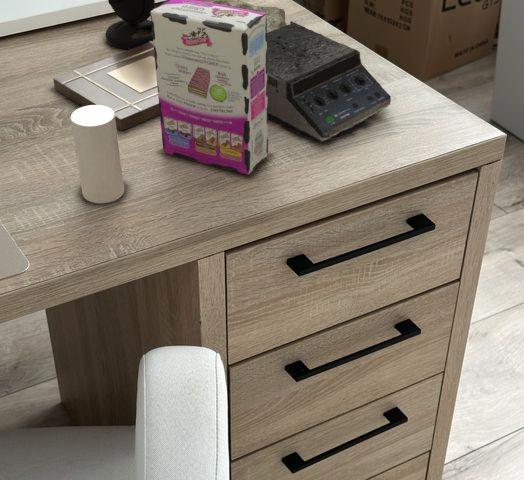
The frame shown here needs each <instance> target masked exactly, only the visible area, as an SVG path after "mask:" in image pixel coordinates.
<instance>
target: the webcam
mask: <svg viewBox="0 0 524 480" xmlns="http://www.w3.org/2000/svg"><path fill="white" fill-rule="evenodd" d="M107 2H108V5H110V7H111V8H112V10H113V12H114V13H115V14H116V15H117V16H118V17H119V18H120V19H122V20H119V21H116V22H114V23H112V24H110V25H109V26H108V27H107V29H106V30H105V38H106V41H107V42H108V43H109V44H110V45H112V46H113V47H116V48H118V49H122V50H123V49H125V50H126V49H127V50H130V49H133V48H135V47H138V46H141V45H143V44H146V43H149V41H153V34H152V23H151V20H150V19H149V18H151V14H150V12H151V11H152V10H154V9H155V3H156V0H107ZM141 31H146V32H149V33H148V34H145V35H143V36H139V37H138V36H137V37H134V36H135V35H136V34H138V32H141Z"/></svg>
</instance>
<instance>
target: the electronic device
mask: <svg viewBox="0 0 524 480" xmlns="http://www.w3.org/2000/svg"><path fill="white" fill-rule="evenodd" d="M362 63H363V62H362V59H361V51H359V50H358V49H355V48H352V47H350V46H348V45H346V44H344V43H341V42H338V41H336V40H334V39H331V38H329V37H328V36H325V35H324V34H322V33H319V32H316V31H314V30H312V29H309V28H307V27H305V26H303V25H301V24H298V23H297V22H294V21H291V20H290V21H289V24H287V25H286V26H283V27H281V28H279V29H276V30H273V31H270V32H268V33H267V102H268V103H267V109H268V112H267V113H268V120H270V121H273V122H276V123H278V124H279V125H280V126H281V127H283V128H284V129H286V130H287V131H290V132H291V131H293V132H294V133H296V134H298V135H299V137H303V138H308V139H311V140H313V141H315V142H317V143H326V142H329V141H331V140H332V139H333V138H338V137H340V136H344V135H347V134H350V133H352V132H353V131H356V130H357V129H359V128H361V127H363V126H364V125H365V124H366V122H367V120H368V119H369V118H370V117H373V115H374V114H377V113H379V112H381V111H383V110H384V109H386V108H389V106H390V105H391V100H392V97H391V95H390V94H389V93H388V92H387V91H386V90H385V88H383V87H382V85H381V84H380V83H379V82H378V81H377V80H376V79H375V77H374V76H373V75H372V74H371V73H370V72H369V70H368V69H367V68H366V66H364V64H362Z"/></svg>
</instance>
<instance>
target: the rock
mask: <svg viewBox="0 0 524 480" xmlns="http://www.w3.org/2000/svg"><path fill="white" fill-rule="evenodd" d="M212 3H215V4H220V5H226V6H231V7H236V8H242V9H247V10H251V11H256V12H262V13H267V18H266V19H267V33H268V32H270V31H273V30H276V29H279V28H281V27H283V26H286V25H288V24H287V23H286V12H285V9H284V8H280V7H277V6H263V5H254V4H253V3H248V2H246V1H242V0H214V1H212Z"/></svg>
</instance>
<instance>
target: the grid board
mask: <svg viewBox="0 0 524 480" xmlns="http://www.w3.org/2000/svg"><path fill="white" fill-rule="evenodd" d="M53 85H54V86H53V87H54V90H55V91H57V92H59V93H60V94H61V95H63V96H65V97H66V98H68V99H70V100H71V101H73V102H75V103H76V104H78V105H79V106H81V107H84V106H88V105H103V106H107V107H109V108H111V109H112V110H113V111H114V113H115V120H116V128H117V130H120V131H122V132H123V131H126V130H128V129H130V128H132V127H136V126H137V125H139V124H141V123H145V122H146V121H149V120H151V119H153V118H156V117H158V116H160V108H159V98H158V87H157V77H156V65H155V55H154V45H153V41H149V43H146V44H143V45H141V46H138V47H135V48H133V49H127V50H125V51H122V52H120V53H116V54H114V55H112V56H109V57H106V58H104V59H101V60H98V61H96V62H94V63H91V64H87V65H85V66H82V67H80V68H78V69H72V71H69V72H67V73H64V74H61V75H59V76H56V77H54V78H53Z"/></svg>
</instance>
